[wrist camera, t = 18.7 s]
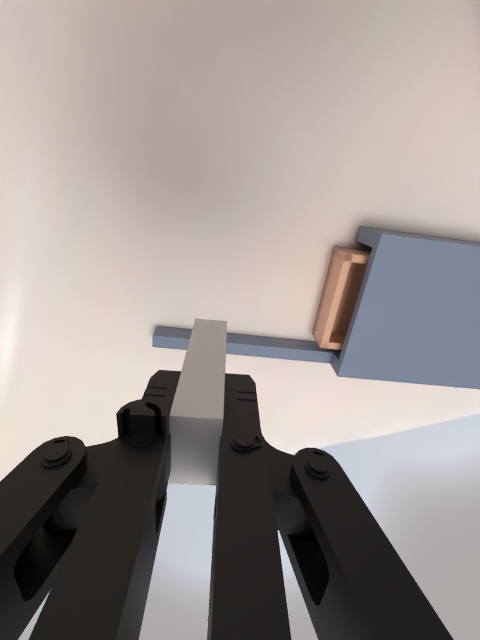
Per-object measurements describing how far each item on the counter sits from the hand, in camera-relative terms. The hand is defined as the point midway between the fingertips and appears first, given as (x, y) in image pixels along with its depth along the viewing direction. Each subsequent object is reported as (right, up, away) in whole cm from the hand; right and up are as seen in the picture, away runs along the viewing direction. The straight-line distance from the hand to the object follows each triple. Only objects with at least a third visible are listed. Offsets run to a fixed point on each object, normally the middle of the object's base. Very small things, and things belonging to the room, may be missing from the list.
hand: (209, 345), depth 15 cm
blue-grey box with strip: (+12, +4, +21) cm, 25 cm away
